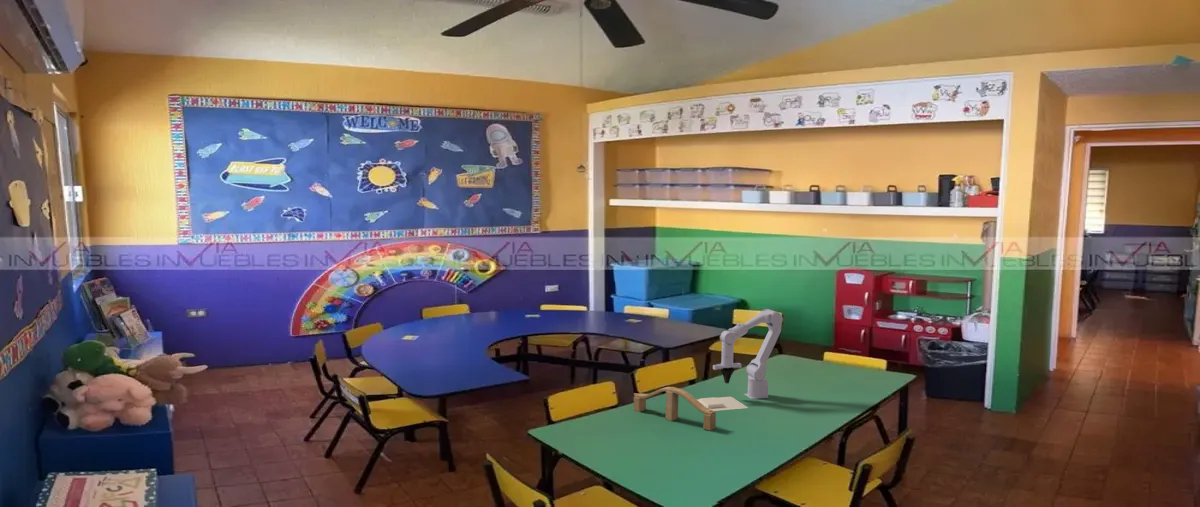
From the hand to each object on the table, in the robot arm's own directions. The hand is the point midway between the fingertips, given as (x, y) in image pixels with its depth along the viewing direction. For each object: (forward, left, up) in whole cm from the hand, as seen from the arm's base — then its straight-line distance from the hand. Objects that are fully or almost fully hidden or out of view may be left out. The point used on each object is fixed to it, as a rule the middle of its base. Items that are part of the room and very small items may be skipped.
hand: (726, 382), depth 348 cm
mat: (+7, +7, -8) cm, 13 cm away
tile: (+7, +7, -7) cm, 12 cm away
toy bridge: (+37, +20, -9) cm, 43 cm away
